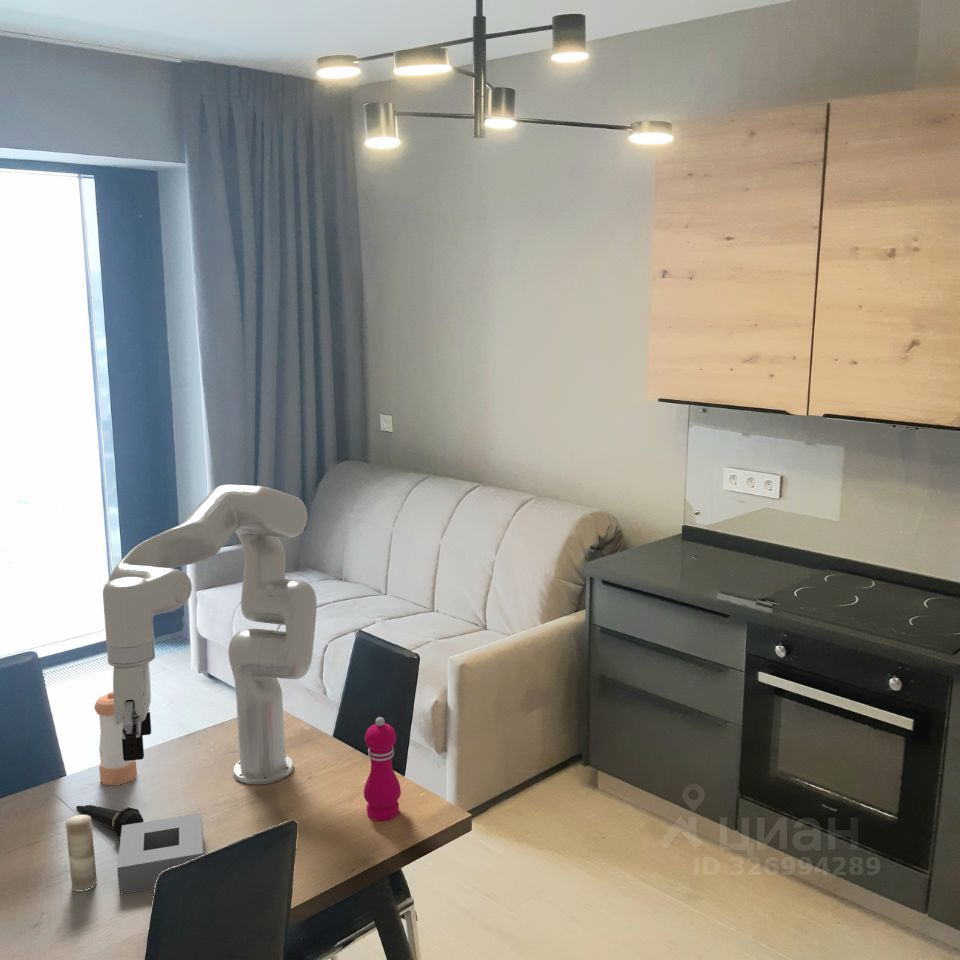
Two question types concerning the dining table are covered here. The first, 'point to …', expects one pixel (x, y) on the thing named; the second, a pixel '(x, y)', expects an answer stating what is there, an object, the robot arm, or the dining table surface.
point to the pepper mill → (381, 773)
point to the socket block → (156, 849)
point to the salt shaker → (112, 746)
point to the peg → (81, 852)
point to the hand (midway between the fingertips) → (137, 746)
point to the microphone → (112, 816)
